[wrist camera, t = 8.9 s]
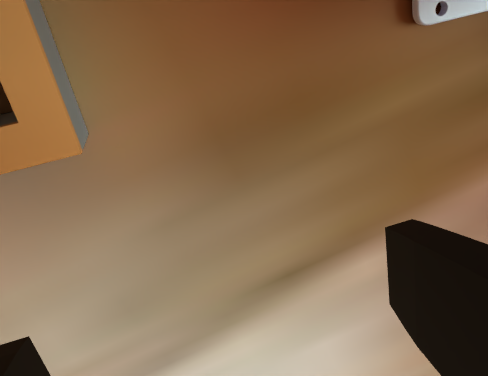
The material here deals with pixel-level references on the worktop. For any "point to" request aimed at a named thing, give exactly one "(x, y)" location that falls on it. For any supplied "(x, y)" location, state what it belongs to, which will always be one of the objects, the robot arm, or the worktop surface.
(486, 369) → the robot arm
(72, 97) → the grey rectangular frame
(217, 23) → the worktop surface
